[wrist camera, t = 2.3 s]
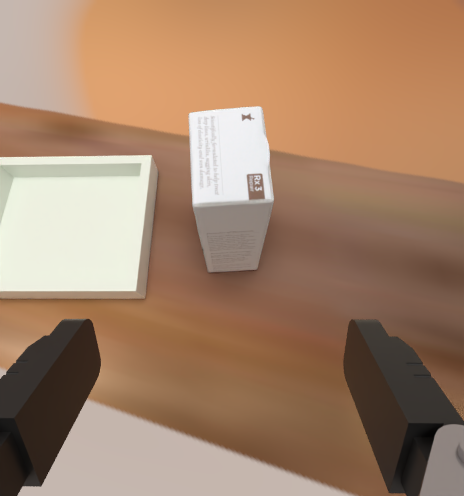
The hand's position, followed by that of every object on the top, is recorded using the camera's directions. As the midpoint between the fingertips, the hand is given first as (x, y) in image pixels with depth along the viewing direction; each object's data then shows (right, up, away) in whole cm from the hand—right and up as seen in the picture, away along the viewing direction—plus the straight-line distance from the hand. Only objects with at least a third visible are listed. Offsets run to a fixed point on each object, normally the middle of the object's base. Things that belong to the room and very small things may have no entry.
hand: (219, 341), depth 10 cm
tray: (-14, +4, +19) cm, 23 cm away
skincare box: (0, +3, +18) cm, 18 cm away
